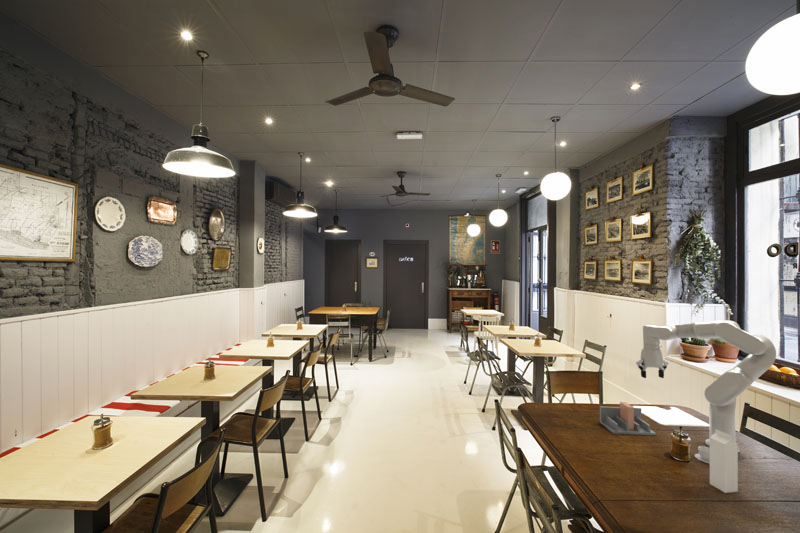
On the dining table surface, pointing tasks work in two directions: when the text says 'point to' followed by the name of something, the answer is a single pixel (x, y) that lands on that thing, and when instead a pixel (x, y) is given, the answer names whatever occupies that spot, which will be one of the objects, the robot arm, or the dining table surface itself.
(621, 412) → the plate block
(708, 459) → the teacup
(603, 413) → the dish rack
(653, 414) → the tray
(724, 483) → the milk
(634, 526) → the dining table surface
